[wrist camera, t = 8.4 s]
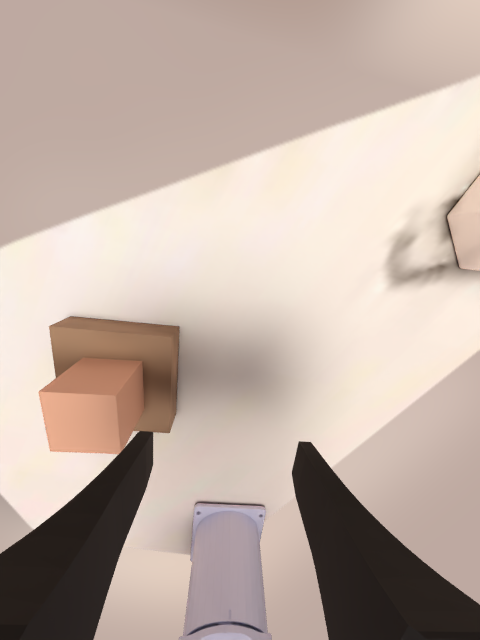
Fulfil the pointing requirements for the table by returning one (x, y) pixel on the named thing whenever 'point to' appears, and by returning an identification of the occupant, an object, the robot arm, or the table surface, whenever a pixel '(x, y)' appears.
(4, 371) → the table surface
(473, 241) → the jar
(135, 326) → the base block
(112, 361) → the cube
